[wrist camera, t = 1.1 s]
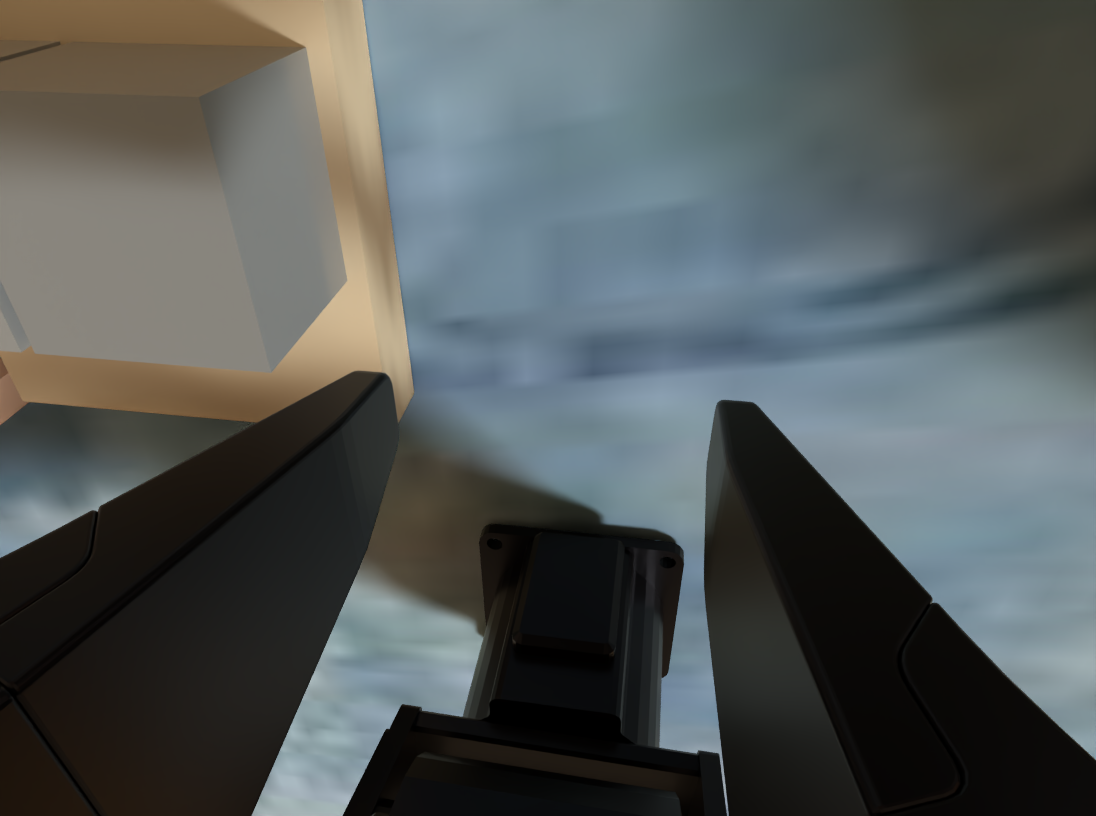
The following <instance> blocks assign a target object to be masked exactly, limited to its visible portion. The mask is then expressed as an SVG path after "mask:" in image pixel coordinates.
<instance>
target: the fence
mask: <svg viewBox="0 0 1096 816" xmlns="http://www.w3.org/2000/svg"><path fill="white" fill-rule="evenodd" d="M27 403H28V402H25V401H23V400H22V399H21V397H20V395H19V393H18V391H17V389H16V387H15V385H14V383H13V381H12V379H11V377H10V375H9V373H8V371H7V369H6V367H5V365H4V363H3V361H2V359H0V425H1V424H2V423H4V422H5V421H6V420H7V419H9V418H10V417H11V416H12V415H14V414H15V413H16V412H17V411H19V410H20V409H21V408H22V407H23V406H25V405H26V404H27Z"/></svg>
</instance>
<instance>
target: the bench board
mask: <svg viewBox="0 0 1096 816" xmlns="http://www.w3.org/2000/svg"><path fill="white" fill-rule="evenodd" d="M0 40H26V41H60V44H61V45H63V44H66V43H70V42H109V43H151V44H193V45H234V46H276V47H306V50H307V55H308V61H309V66H310V72H311V78H312V83H313V89H314V95H315V100H316V106H317V112H318V117H319V123H320V128H321V134H322V140H323V145H324V151H325V157H326V162H327V168H328V174H329V179H330V185H331V191H332V196H333V202H334V207H335V213H336V219H337V224H338V230H339V236H340V241H341V247H342V253H343V258H344V264H345V270H346V275H347V282H346V283H345V284H344V286H343V287H342V288H341V289H340V290H339V292H338V293H337V294H336V295H335V296H334V298H333V299H332V300H331V301H330V303H329V304H328V305H327V306H326V307H325V309H324V310H323V311H322V312H321V313H320V315H319V316H318V317H317V318H316V319H315V321H314V322H313V323H312V324H311V325H310V327H309V328H308V329H307V330H306V332H305V333H304V334H303V335H302V336H301V338H300V339H299V340H298V341H297V342H296V344H295V345H294V346H293V347H292V348H291V350H290V351H289V352H288V353H287V354H286V356H285V357H284V358H283V359H282V361H281V362H280V363H279V364H278V365H277V367H276V368H275V369H274V370H273V371H272V373H266V372H254V371H242V370H229V369H217V368H205V367H193V366H180V365H168V364H156V363H144V362H131V361H119V360H107V359H95V358H82V357H70V356H58V355H46V354H35V353H34V350H33V348H32V346H30V347H28V348H27V349H26V350H24V351H23V352H9V351H0V357H1V359H2V361H3V363H4V365H5V367H6V369H7V371H8V373H9V375H10V377H11V379H12V381H13V383H14V385H15V387H16V389H17V391H18V393H19V395H20V397H21V399H22V400H23V401H25V402H36V403H47V404H58V405H69V406H80V407H91V408H102V409H113V410H124V411H135V412H146V413H158V414H169V415H180V416H191V417H202V418H213V419H224V420H235V421H246V422H259V421H261V420H263V419H265V418H267V417H268V416H270V415H272V414H274V413H276V412H278V411H280V410H282V409H283V408H285V407H287V406H289V405H291V404H293V403H295V402H297V401H298V400H300V399H302V398H304V397H306V396H308V395H310V394H312V393H313V392H315V391H317V390H319V389H321V388H323V387H325V386H327V385H328V384H330V383H332V382H334V381H336V380H338V379H340V378H342V377H343V376H345V375H347V374H349V373H351V372H353V371H358V370H359V371H372V372H383V373H386V374H387V375H388V376H389V377H390V379H391V381H392V385H393V391H394V398H395V404H396V411H397V417H398V423H399V421H400V419H401V417H402V415H403V413H404V412H405V410H406V408H407V406H408V404H409V402H410V400H411V398H412V396H413V394H414V388H413V380H412V373H411V365H410V357H409V350H408V342H407V335H406V327H405V320H404V312H403V305H402V297H401V290H400V282H399V275H398V267H397V260H396V252H395V245H394V237H393V230H392V222H391V215H390V207H389V200H388V192H387V185H386V177H385V169H384V162H383V154H382V147H381V139H380V132H379V124H378V117H377V109H376V102H375V94H374V87H373V79H372V72H371V64H370V57H369V49H368V42H367V34H366V27H365V19H364V12H363V4H362V0H0Z"/></svg>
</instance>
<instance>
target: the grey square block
mask: <svg viewBox="0 0 1096 816" xmlns="http://www.w3.org/2000/svg"><path fill="white" fill-rule="evenodd" d="M0 281H1V283H2V285H3V287H4V289H5V291H6V294H7V296H8V298H9V300H10V302H11V304H12V306H13V308H14V310H15V313H16V315H17V317H18V319H19V321H20V323H21V325H22V327H23V329H24V331H25V334H26V336H27V338H28V340H29V342H30V344H31V346H32V348H33V350H34V353H35V354H46V355H58V356H70V357H82V358H95V359H107V360H119V361H131V362H144V363H156V364H168V365H180V366H193V367H205V368H217V369H229V370H242V371H254V372H266V373H272V371H273V370H274V369H275V368H276V367H277V365H278V364H279V363H280V362H281V361H282V359H283V358H284V357H285V356H286V354H287V353H288V352H289V351H290V350H291V348H292V347H293V346H294V345H295V344H296V342H297V341H298V340H299V339H300V338H301V336H302V335H303V334H304V333H305V332H306V330H307V329H308V328H309V327H310V325H311V324H312V323H313V322H314V321H315V319H316V318H317V317H318V316H319V315H320V313H321V312H322V311H323V310H324V309H325V307H326V306H327V305H328V304H329V303H330V301H331V300H332V299H333V298H334V296H335V295H336V294H337V293H338V292H339V290H340V289H341V288H342V287H343V286H344V284H345V283H346V282H347V275H346V270H345V264H344V258H343V253H342V247H341V241H340V236H339V230H338V224H337V219H336V213H335V207H334V202H333V196H332V191H331V185H330V179H329V174H328V168H327V162H326V157H325V151H324V145H323V140H322V134H321V128H320V123H319V117H318V112H317V106H316V100H315V95H314V89H313V83H312V78H311V72H310V66H309V61H308V55H307V50H306V47H276V46H234V45H193V44H151V43H109V42H70V43H66V44H63V45H59V46H56V47H52V48H48V49H45V50H41V51H38V52H34V53H30V54H27V55H23V56H20V57H16V58H13V59H9V60H5V61H2V62H0Z"/></svg>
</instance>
